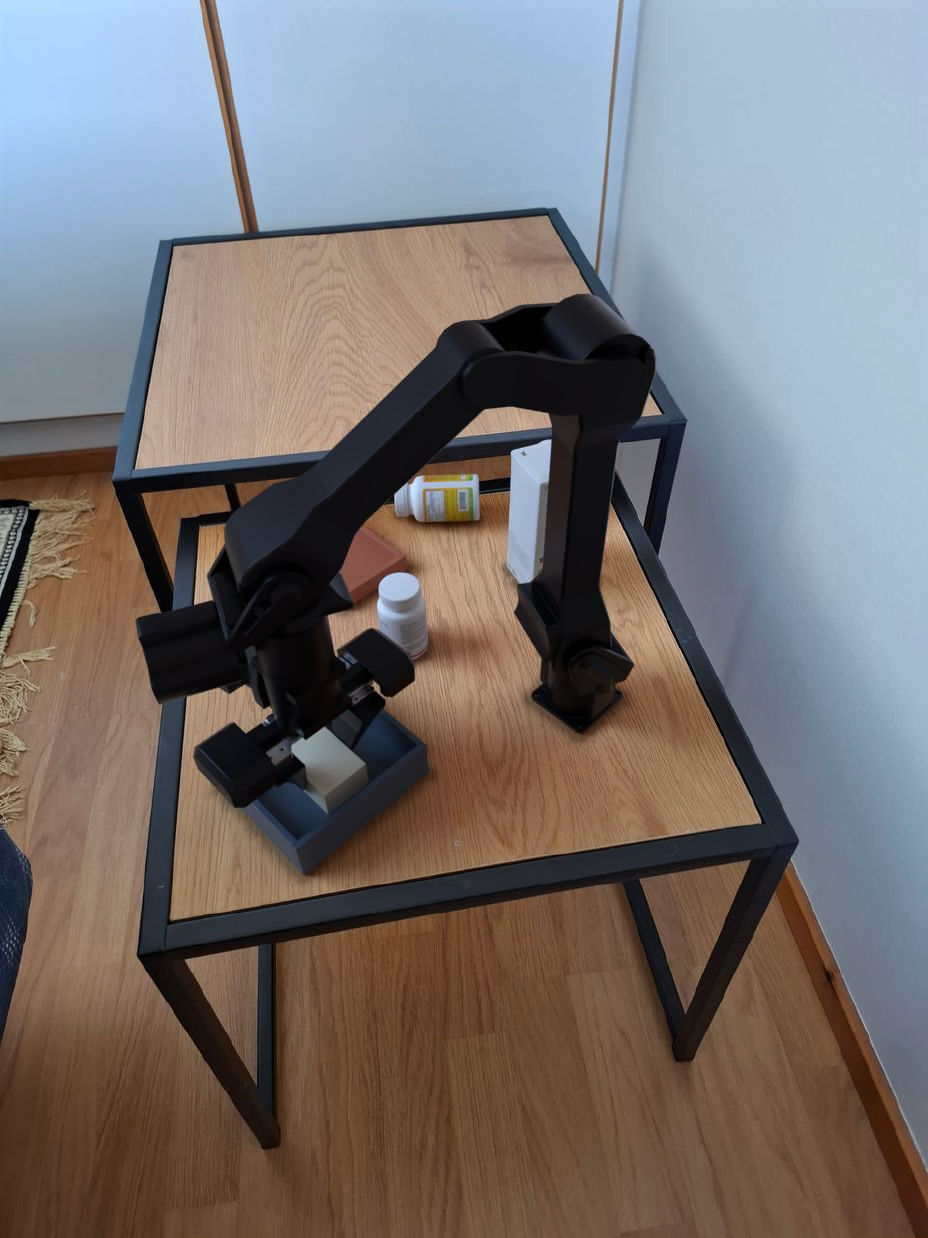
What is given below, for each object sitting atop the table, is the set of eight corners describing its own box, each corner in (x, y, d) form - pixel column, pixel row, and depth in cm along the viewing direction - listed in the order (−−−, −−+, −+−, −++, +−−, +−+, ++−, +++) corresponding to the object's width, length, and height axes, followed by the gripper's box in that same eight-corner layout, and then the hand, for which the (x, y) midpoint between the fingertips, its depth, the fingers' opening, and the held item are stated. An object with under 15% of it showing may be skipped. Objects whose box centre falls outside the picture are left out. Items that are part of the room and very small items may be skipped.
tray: (407, 569, 98) (406, 555, 96) (343, 611, 93) (341, 597, 92) (343, 523, 103) (341, 510, 102) (280, 561, 99) (277, 548, 97)
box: (429, 773, 79) (427, 744, 76) (304, 876, 72) (296, 850, 69) (343, 698, 85) (338, 669, 82) (220, 787, 78) (209, 759, 75)
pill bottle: (433, 632, 91) (430, 573, 85) (421, 666, 88) (417, 607, 82) (389, 625, 92) (382, 566, 86) (376, 658, 88) (368, 599, 82)
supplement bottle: (479, 491, 105) (399, 493, 106) (478, 464, 101) (394, 466, 101) (480, 529, 103) (398, 531, 103) (479, 503, 98) (393, 506, 98)
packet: (369, 783, 77) (366, 763, 75) (328, 815, 75) (324, 796, 73) (320, 737, 81) (315, 717, 79) (279, 767, 79) (274, 748, 76)
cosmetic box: (530, 602, 94) (537, 486, 82) (503, 565, 98) (506, 449, 87) (598, 580, 96) (614, 463, 85) (569, 544, 100) (580, 428, 89)
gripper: (326, 544, 75) (346, 664, 86) (131, 663, 66) (182, 779, 77) (414, 609, 69) (423, 728, 80) (214, 748, 60) (257, 860, 71)
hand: (323, 769), depth 77 cm, fingers closed on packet, 4 cm apart
